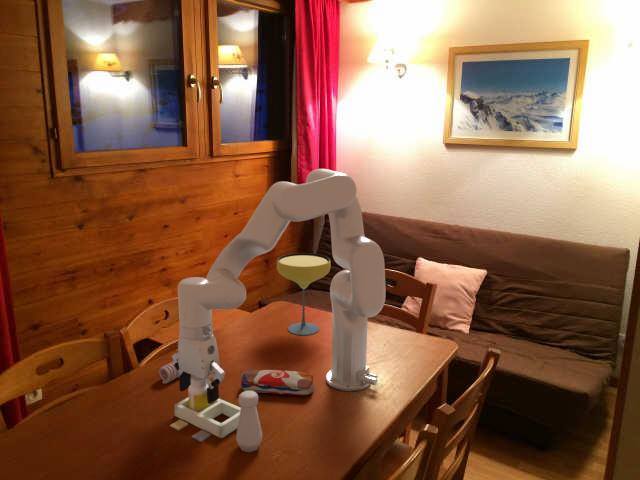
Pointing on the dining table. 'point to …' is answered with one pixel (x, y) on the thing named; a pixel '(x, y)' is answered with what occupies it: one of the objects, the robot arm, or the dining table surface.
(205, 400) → the supplement bottle
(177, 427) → the brass tag
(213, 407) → the socket block
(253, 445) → the salt shaker
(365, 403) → the dining table surface
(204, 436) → the slate tag
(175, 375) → the coil
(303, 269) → the cocktail glass
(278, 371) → the pencil case
